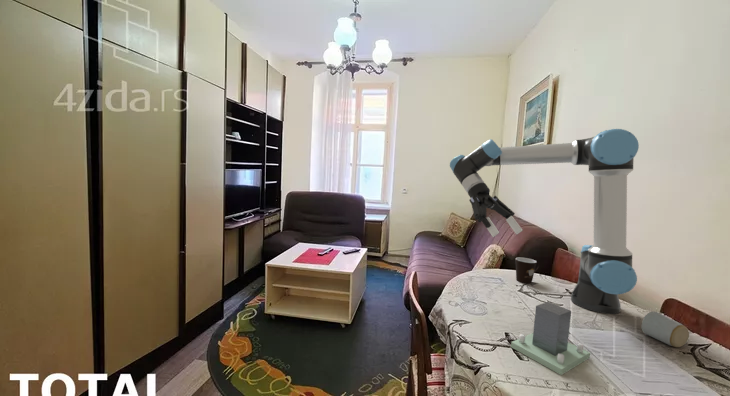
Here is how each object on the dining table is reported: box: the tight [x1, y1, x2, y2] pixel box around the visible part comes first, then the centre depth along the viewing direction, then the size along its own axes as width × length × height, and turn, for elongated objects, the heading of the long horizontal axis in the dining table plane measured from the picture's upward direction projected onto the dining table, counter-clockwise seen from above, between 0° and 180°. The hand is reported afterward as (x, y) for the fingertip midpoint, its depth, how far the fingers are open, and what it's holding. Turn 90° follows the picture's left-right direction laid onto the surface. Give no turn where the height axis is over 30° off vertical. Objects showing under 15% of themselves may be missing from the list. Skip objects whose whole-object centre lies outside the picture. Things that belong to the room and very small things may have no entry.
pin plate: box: [510, 332, 591, 376], centre depth 81 cm, size 15×13×4 cm
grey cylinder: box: [641, 311, 690, 348], centre depth 91 cm, size 11×8×8 cm
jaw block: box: [532, 301, 572, 356], centre depth 81 cm, size 6×6×11 cm
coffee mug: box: [515, 257, 540, 285], centre depth 138 cm, size 12×9×10 cm
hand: (508, 233), depth 105 cm, fingers open, 13 cm apart
